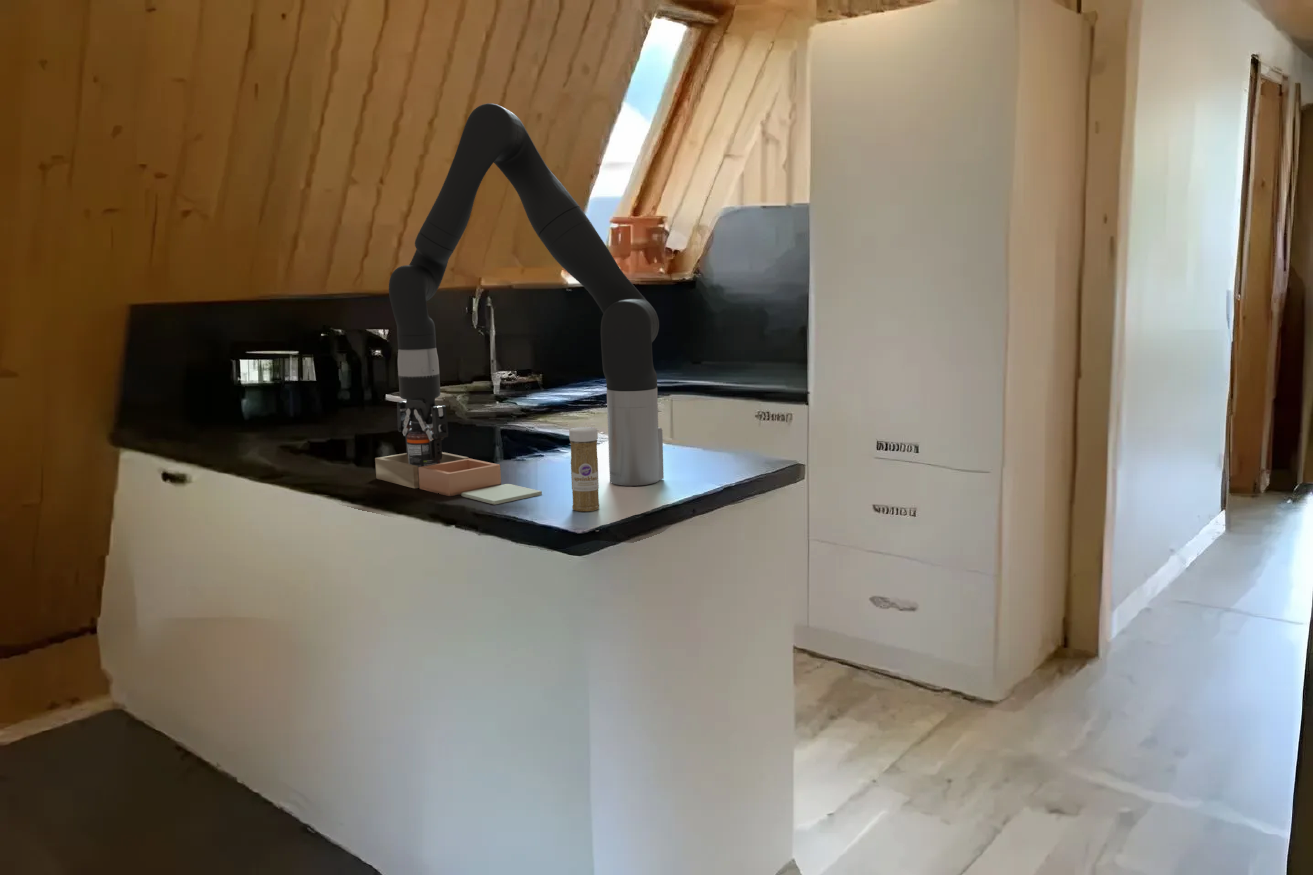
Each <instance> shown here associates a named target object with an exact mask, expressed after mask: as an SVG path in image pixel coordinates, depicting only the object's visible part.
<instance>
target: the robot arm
mask: <svg viewBox="0 0 1313 875" xmlns="http://www.w3.org/2000/svg"><path fill="white" fill-rule="evenodd" d="M456 148H457V149H456V151H455V154H454V156H453V159H452V162H451V164H450V167H449V170H448V173H447V175H446V177H445V180H444V182H443V184H442V187H441V189H440V190H439V193H438V195H437V198H436V199H435V201H434V203H433V204H432V207H431V208H430V211H428V214H427V216H426V218H425V220H424V221H423V223H422V225H421V228H420V230H419V231H418V233H417V235H416V238H415V241H414V247H415V252H414V254H413V257H412V258H411V260H410V263H409V264H407V265H400V266H399V267H397V268H395V269H394V270H393V272H392V273H391V275H390V277H389V281H388V294H389V301H390V305H391V309H392V313H393V317H394V320H395V323H396V334H397V335H396V336H397V337H396V338H397V349H398V350H397V352H398V353H397V371H398V372H397V375H398V389H399V398H400V399H402V400H399V401H397V402H396V417H397V432H399V433H402V434H403V437H405V438H404V439H405V448H406V449H405V451H406V452H405V453H407V455H408V448H407V435H408V434H409V433H410V431H411V429H412V428H411V421H416V422H419V423H420V425H421V428H422V430H423V431H424V432H426V433H427V436H428V438H429V440H430V441H429V450H430V459H431V460H433V461H436V460H441V459H442V452H443V450H442V447H443V445H442V441H443V440H444V439H445V438H448V437H449V426H448V417H447V416H448V415H447V407H446V405H445V404H444V405H436V399H437V398H439V397H441V382H440V380H441V379H440V364H439V362H440V361H439V356H438V351H437V336H436V326H435V322H434V320H433V319H432V317H430V315H429V312H428V310H429V309H428V304H427V301H429V300H430V299H432V298H433V297H434V296H435V294H436V293H437V291H438V290H439V287H440V286H441V283H442V281H443V278H444V275H445V274H446V273H445V272H446V269H447V267H448V264H449V260H450V257H451V256H452V255H453V253H454V251H455V250H456V247H457V246H458V244H459V242H460V240H461V239H462V237H463V235H464V232H465V231H466V228H467V226H468V223H469V221H470V218H471V214H472V210H473V207H474V203H475V201H476V200H475V199H476V196H477V192H478V190H479V188H480V186H481V183H482V181H483V180H484V178H485V176H486V174H487V172H488V170H489V169H490V168H491V166H492V165H493V164H494V165H495V166H496V167H497V168H498V169H499V171H500V172H501V173H502V174H503V175H504V176H505V178H506V179H507V180H508V182H510V184H511V185H512V186H513V188H514V189H515V191H516V192H517V195H518V198H519V199H520V202H521V204H522V206H523V208H524V211H525V214H526V217H527V218H528V221H529V223H530V225H531V227H532V229H533V230H534V232H535V234H536V235H537V237H538V238H539V239H540V241H541V242H542V243H543V245H544V247H545V249H547V251H548V252H549V254H550V255H551V256H552V257H553V259H555V261H556V262H557V264H559V265H560V267H561V268H563V269H564V270H565V271H566V272H567V273H568V274H569V275H570V276H571V277H572V278H573V279H575V280H576V281H577V283H579V284H580V285H581V286H582V287H583V288H584V289H585V290H586V291H588V293H589V295H590V296H591V297H592V298H593V300H594V301H595V303H596V304H597V306H598V307H599V309H600V311H601V312H602V314H603V315H602V317H601V321H600V346H601V347H600V348H601V361H602V363H601V364H602V371H603V375H604V378H605V381H606V382H605V384H606V404H607V405H606V406H607V407H606V408H607V413H606V414H607V437H608V438H607V439H608V440H607V441H608V467H609V483H611V484H614V485H619V486H630V487H631V486H646V485H653V484H655V483H659V481H661V480H663V479H664V477H665V476H664V446H663V444H664V443H663V442H664V439H663V438H664V436H663V434H664V433H663V429H662V427H659V408H658V406H659V403H658V376H657V372H656V370H655V367H654V362H653V342H654V341H655V339H656V338H657V336H658V333H659V331H660V330H659V329H660V320H659V317H658V314H657V311H656V310H655V308H654V307H653V306H652V304H651V303H650V302H649V301H648V300H647V299H646V297H645V296H644V295H642V293H641V292H640V291H639V290H638V289H637V287H635V285H634V284H633V283H632V281H630V279H629V278H628V277H627V276H626V274H625V273H624V272H623V271H622V269H621V268H620V266H619V265H618V263H617V261H616V259H615V258H614V257H613V255H612V253H611V251H610V250H609V248H608V247H607V245H606V243H605V242H604V240H603V239H602V237H601V236H600V234H599V233H598V231H597V230H596V228H595V227H594V225H593V224H592V222H591V221H590V219H589V218H588V216H587V215H586V213H585V212H584V210H583V209H582V208H581V206H580V205H579V204H578V201H576V200H575V198H573V196H572V194H570V192H569V190H567V188H566V187H565V186H564V185H563V183H562V182H561V181H560V180H559V179H558V178H557V176H556V175H555V174H554V173H553V172H552V171H551V169H550V168H549V167H548V165H547V164H546V162H545V160H544V159H543V158H542V156H541V153H540V152H539V151H538V148H537V147H536V144H534V142H533V140H532V138H531V136H530V134H529V133H528V131H527V129H526V127H525V125H524V124H523V121H522V120H521V119H520V118H519V117H518V116H517V115H516V114H515V113H513V112H512V111H511V110H509V109H507V108H505V107H503V106H501V105H499V104H496V103H492V102H491V103H484V104H483V103H482V104H480V105H479V106H476V108H474V109H473V110H472V111H471V112H470V113H469V115H468V117H467V119H466V122H465V125H464V128H463V130H462V133H461V137H460V140H459V143H458V145H457V147H456ZM441 427H442V428H441ZM432 430H433V433H434V434H433V433H432Z"/></svg>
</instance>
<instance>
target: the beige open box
mask: <svg viewBox="0 0 1313 875" xmlns="http://www.w3.org/2000/svg"><path fill="white" fill-rule="evenodd" d="M463 459H469V457H468V456H463V455H458V454H453V453H448V452H445V451H444V452H443V451H442V459H441V460H440V463H446V462H452V461H457V460H463ZM374 462H375V463H374V464H375V474H376V476H375V477H376V479H377V480H380V481H381V480H382V481H385V482H389V483H393V484H396V485H400V486H404V487H408V488H410V489H411V488H412V489H418V488H419V489H420V485H419V476H418V466H415V465H411V464H409V460H408V455H407V453H406V452H404V453H399V454H391V455H388V456H387V455H386V456H380V457H379V456H378V457H375V458H374Z"/></svg>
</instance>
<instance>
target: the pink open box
mask: <svg viewBox="0 0 1313 875" xmlns="http://www.w3.org/2000/svg"><path fill="white" fill-rule="evenodd" d="M418 470H419V490H424V491H427V492H431V493H435V494H438V493H439V494H438V495H442V496H447V497H454V496H459V495H462V494H461V493H463V492H468V491H473V490H479V489H484V488H489V487H494V486H499V485H502V476H501V475H502V474H501V464H498V463H493V462H488V461H485V460H479V459H473V458H469V459H463V460H457V461H452V462H446V463H440V464H434V465H428V466H423V467H418Z"/></svg>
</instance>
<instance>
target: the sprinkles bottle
mask: <svg viewBox="0 0 1313 875" xmlns="http://www.w3.org/2000/svg"><path fill="white" fill-rule="evenodd" d="M568 433H569V434H568V437H569V442H570V474H571V476H570V478H571V490H572V506H571V507H572V510H573V511H576V512H581V513H583V512H584V513H585V512H593V511H597V510H599V509H600V499H599V495H600V494H599V488H600V487H599V461H598V460H599V459H598V447H597V446H598V438H599V437H598V428H596V427H593V426H576V427H572V428H570V429H569V431H568Z"/></svg>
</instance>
